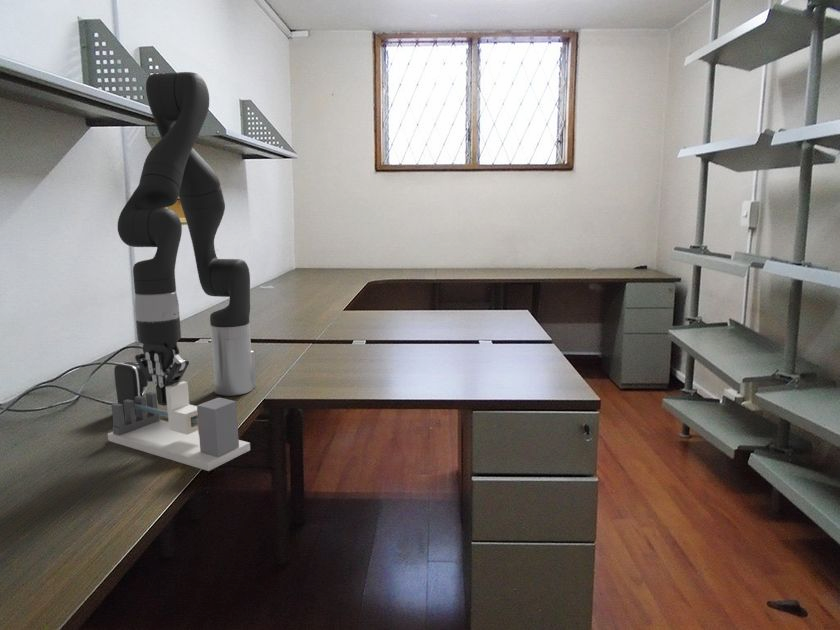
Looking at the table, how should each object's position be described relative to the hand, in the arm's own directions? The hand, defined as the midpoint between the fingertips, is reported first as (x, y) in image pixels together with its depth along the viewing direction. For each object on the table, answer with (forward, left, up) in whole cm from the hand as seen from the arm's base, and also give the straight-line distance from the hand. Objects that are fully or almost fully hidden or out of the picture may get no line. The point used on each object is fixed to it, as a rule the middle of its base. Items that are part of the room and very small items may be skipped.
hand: (165, 403), depth 110 cm
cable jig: (0, +3, -8) cm, 8 cm away
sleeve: (0, +6, -4) cm, 7 cm away
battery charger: (-8, -21, -8) cm, 24 cm away
